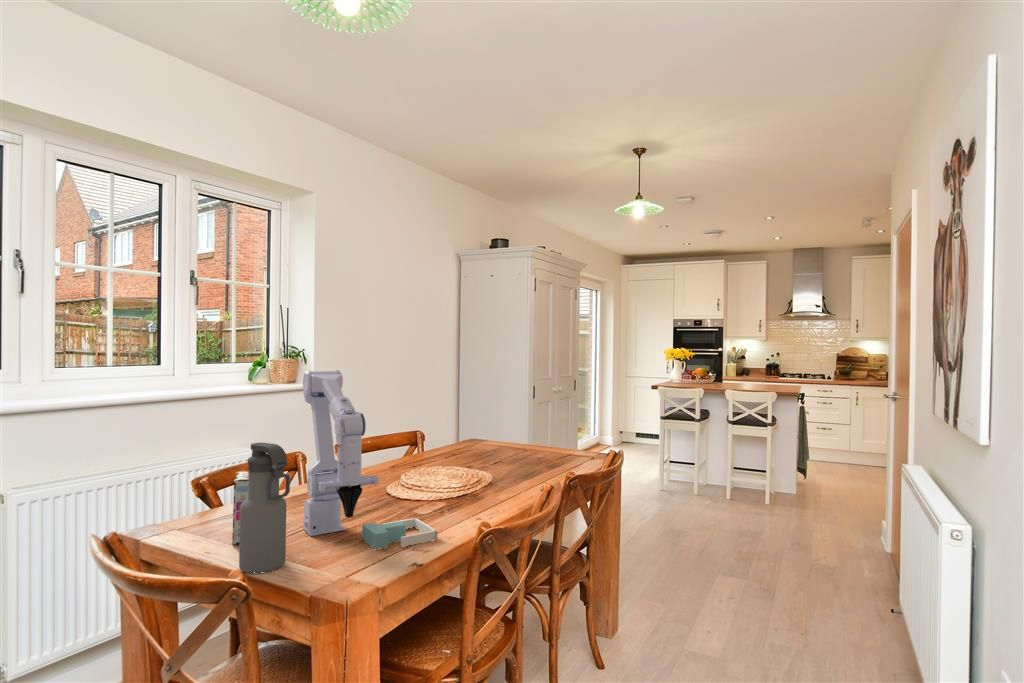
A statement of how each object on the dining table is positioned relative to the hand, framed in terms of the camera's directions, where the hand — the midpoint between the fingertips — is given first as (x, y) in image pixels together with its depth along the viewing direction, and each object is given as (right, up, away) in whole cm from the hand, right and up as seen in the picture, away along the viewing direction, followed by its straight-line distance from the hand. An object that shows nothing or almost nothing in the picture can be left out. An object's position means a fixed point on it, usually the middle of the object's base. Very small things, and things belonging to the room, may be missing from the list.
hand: (348, 516), depth 142 cm
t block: (+8, -8, +6) cm, 13 cm away
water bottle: (-16, -8, -12) cm, 22 cm away
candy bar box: (-29, -8, +7) cm, 31 cm away
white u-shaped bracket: (+13, -8, +10) cm, 18 cm away
